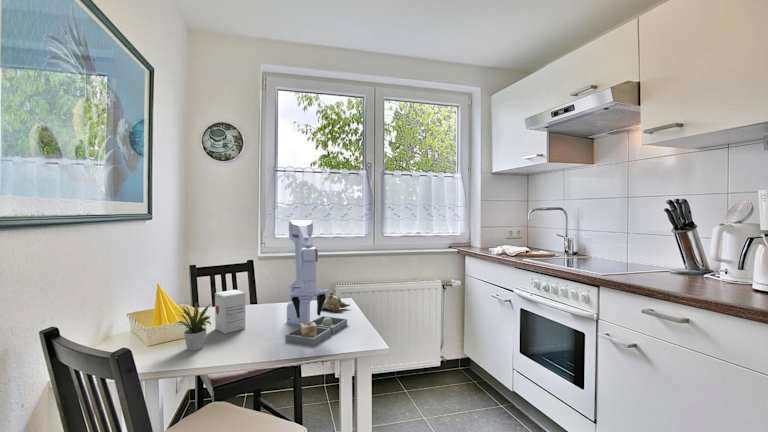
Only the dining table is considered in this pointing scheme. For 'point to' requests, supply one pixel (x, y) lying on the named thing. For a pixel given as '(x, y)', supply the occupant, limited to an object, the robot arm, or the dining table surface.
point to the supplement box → (229, 311)
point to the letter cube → (309, 330)
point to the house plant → (195, 328)
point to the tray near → (297, 338)
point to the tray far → (336, 323)
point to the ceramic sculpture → (333, 303)
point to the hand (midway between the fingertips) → (308, 316)
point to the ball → (327, 322)
